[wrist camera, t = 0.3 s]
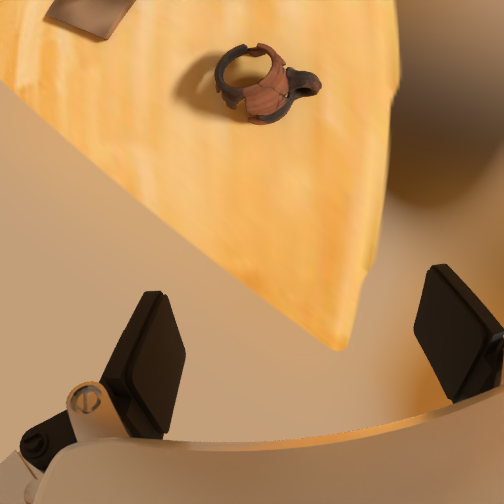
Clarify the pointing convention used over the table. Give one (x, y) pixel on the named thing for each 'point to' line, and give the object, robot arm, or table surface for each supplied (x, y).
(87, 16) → the post stand
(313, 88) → the pottery mug
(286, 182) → the table surface
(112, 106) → the table surface
